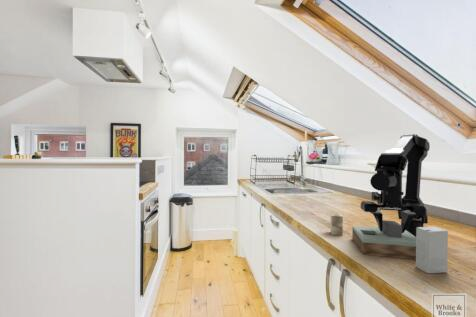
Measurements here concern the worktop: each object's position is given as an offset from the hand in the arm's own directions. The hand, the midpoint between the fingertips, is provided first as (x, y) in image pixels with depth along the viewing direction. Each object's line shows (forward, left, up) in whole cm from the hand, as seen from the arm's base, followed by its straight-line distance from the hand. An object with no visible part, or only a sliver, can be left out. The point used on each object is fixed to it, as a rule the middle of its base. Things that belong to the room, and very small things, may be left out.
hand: (391, 231), depth 81 cm
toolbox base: (+2, 0, -6) cm, 6 cm away
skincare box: (-5, +14, -6) cm, 16 cm away
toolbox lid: (+2, 0, -2) cm, 3 cm away
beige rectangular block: (+16, -12, -6) cm, 21 cm away
